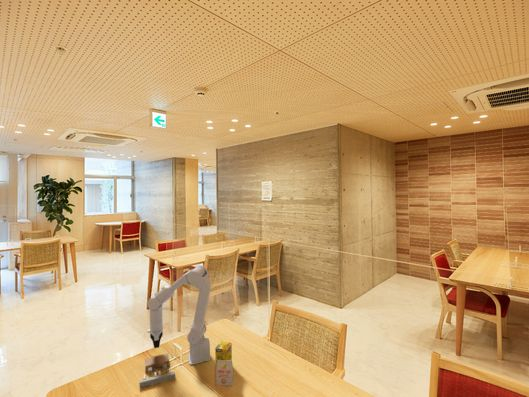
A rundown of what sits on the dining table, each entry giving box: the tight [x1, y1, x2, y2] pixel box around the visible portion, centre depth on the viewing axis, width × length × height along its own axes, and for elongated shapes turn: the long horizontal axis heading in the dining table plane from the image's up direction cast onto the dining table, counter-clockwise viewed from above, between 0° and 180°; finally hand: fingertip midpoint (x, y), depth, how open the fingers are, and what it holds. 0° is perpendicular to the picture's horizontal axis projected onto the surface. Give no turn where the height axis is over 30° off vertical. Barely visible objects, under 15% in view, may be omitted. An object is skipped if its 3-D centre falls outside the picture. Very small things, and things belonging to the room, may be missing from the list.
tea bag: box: [214, 359, 234, 388], centre depth 115 cm, size 4×7×10 cm, turn 85°
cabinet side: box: [139, 367, 176, 389], centre depth 117 cm, size 14×4×2 cm, turn 112°
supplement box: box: [214, 340, 233, 363], centre depth 124 cm, size 6×6×11 cm
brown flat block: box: [144, 353, 170, 375], centre depth 126 cm, size 10×9×3 cm
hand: (156, 347), depth 134 cm, fingers closed
